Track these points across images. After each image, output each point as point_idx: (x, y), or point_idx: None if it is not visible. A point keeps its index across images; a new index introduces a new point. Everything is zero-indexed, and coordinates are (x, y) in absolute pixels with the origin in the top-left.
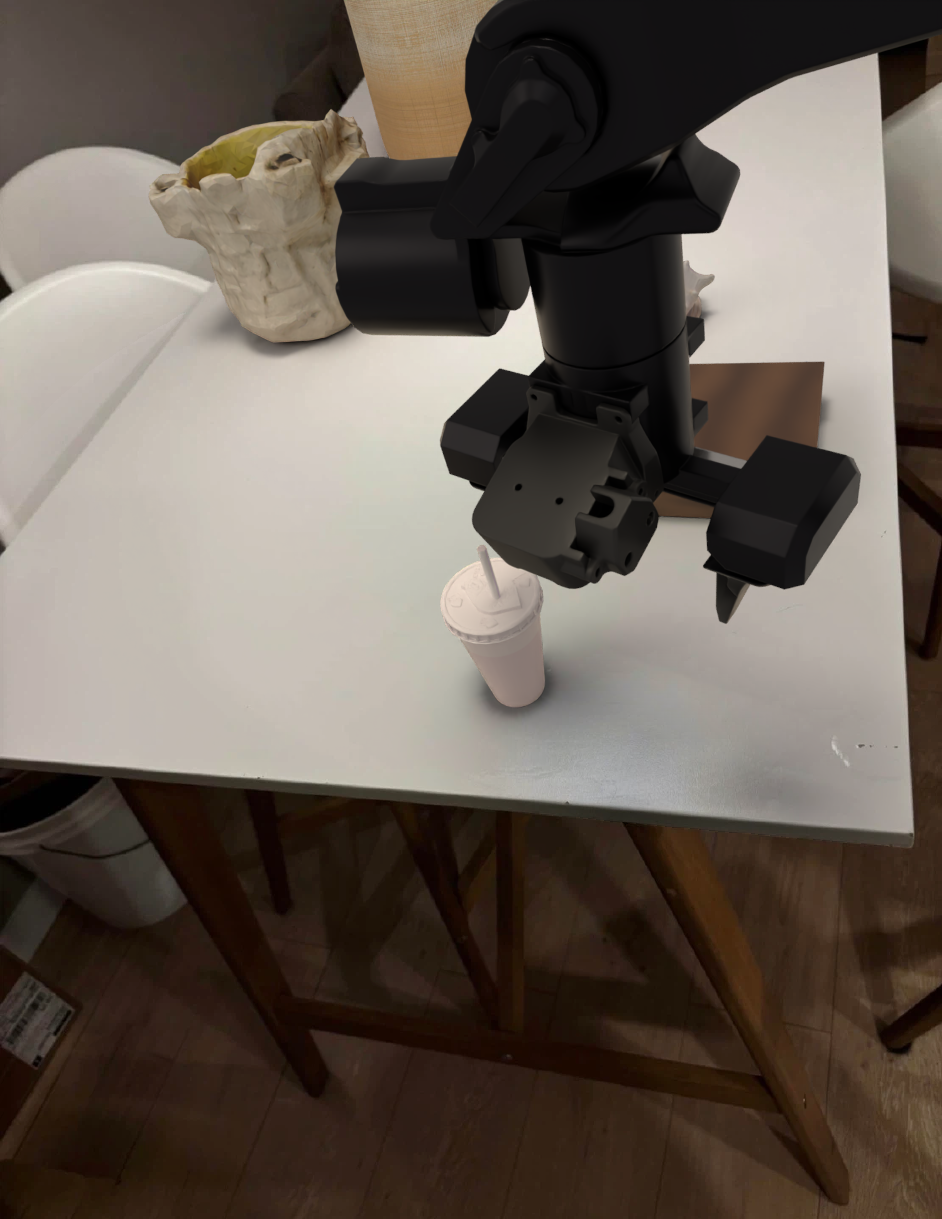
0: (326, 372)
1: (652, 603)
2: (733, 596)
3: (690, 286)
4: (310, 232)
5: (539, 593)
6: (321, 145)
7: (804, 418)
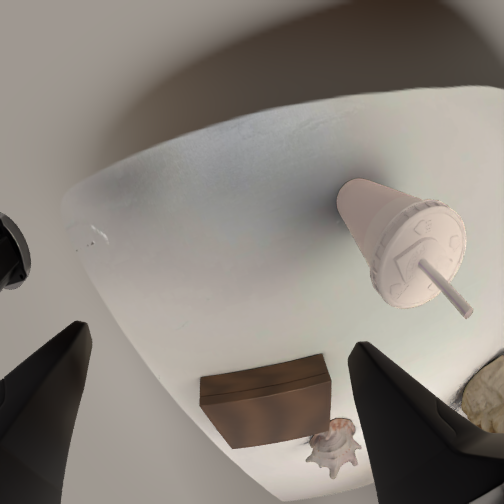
0: (483, 354)
1: (277, 303)
2: (10, 378)
3: (316, 458)
4: (497, 413)
5: (378, 282)
6: None
7: (226, 430)
